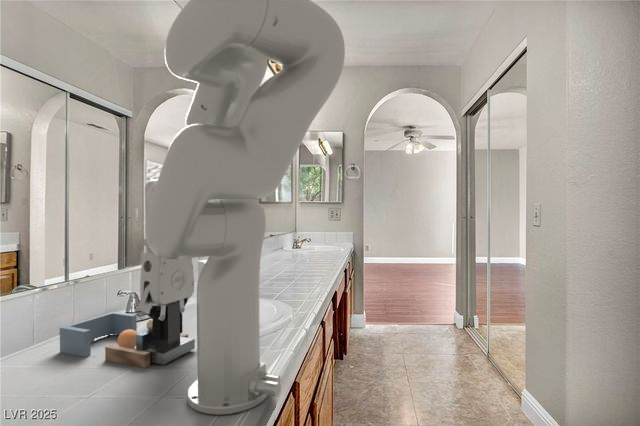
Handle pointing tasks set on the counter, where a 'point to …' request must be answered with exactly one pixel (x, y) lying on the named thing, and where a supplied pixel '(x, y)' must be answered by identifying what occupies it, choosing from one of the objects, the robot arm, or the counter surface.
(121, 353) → the rail
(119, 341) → the ball
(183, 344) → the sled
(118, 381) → the counter surface
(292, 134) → the robot arm
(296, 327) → the counter surface
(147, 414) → the counter surface
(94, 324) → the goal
